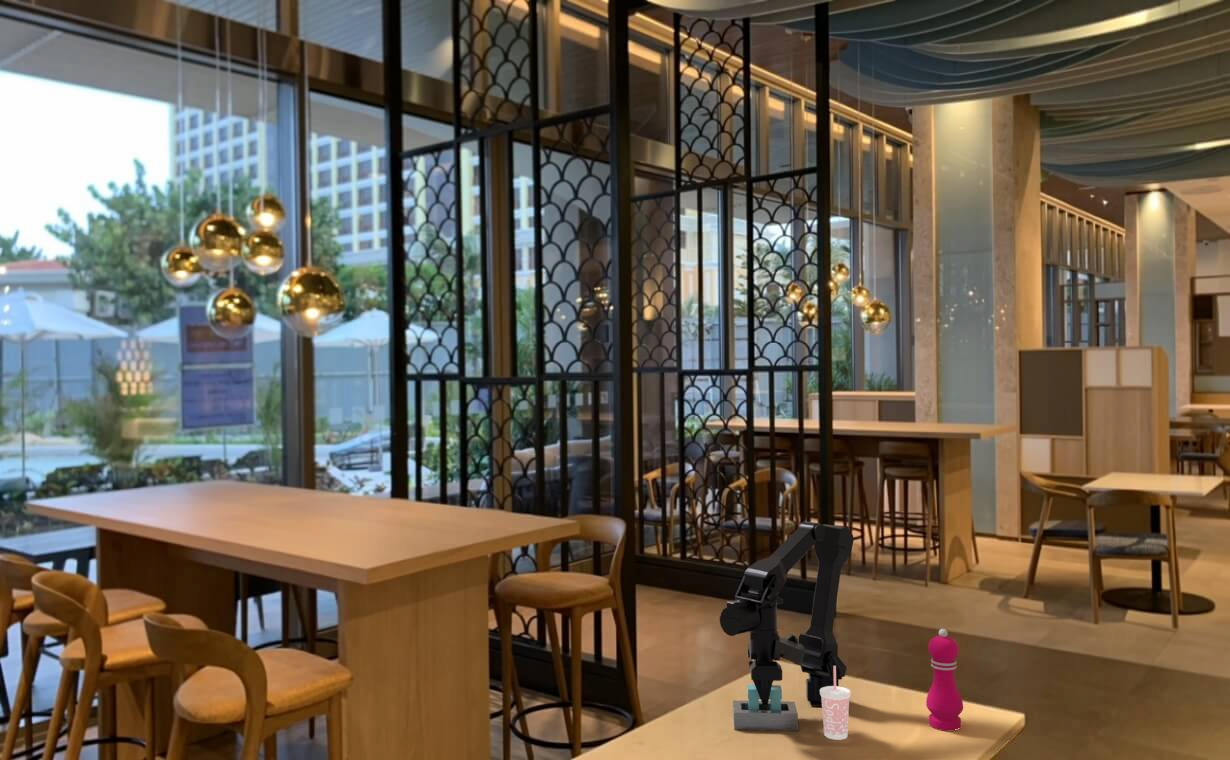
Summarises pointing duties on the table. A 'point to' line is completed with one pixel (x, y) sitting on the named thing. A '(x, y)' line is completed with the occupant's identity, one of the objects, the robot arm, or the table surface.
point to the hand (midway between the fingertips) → (764, 701)
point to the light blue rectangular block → (774, 698)
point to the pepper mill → (944, 684)
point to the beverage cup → (835, 710)
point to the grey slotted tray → (765, 717)
